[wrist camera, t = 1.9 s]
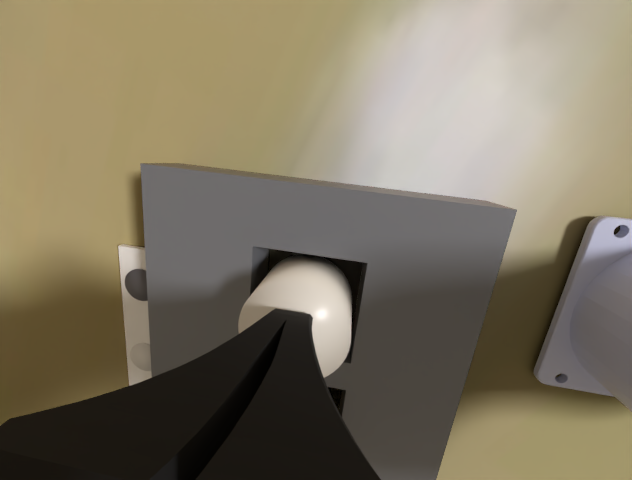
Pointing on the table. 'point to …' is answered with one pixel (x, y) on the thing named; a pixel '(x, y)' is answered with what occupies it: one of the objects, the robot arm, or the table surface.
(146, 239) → the board
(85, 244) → the table surface
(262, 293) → the button
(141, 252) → the card
